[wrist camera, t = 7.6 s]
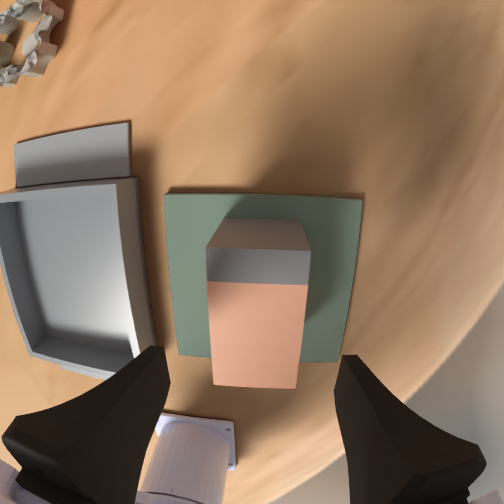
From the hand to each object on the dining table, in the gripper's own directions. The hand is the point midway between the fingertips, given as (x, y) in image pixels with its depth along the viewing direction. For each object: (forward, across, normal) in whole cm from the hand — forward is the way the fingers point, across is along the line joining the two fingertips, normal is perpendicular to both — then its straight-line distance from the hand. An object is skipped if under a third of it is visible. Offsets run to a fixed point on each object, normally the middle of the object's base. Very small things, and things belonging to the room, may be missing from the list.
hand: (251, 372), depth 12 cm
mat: (+9, 0, 0) cm, 9 cm away
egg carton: (+10, +20, -19) cm, 29 cm away
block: (+8, 0, 0) cm, 9 cm away
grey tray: (+9, +14, 0) cm, 17 cm away
